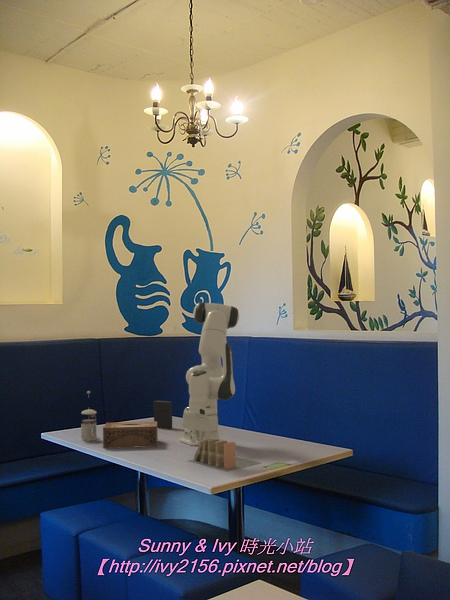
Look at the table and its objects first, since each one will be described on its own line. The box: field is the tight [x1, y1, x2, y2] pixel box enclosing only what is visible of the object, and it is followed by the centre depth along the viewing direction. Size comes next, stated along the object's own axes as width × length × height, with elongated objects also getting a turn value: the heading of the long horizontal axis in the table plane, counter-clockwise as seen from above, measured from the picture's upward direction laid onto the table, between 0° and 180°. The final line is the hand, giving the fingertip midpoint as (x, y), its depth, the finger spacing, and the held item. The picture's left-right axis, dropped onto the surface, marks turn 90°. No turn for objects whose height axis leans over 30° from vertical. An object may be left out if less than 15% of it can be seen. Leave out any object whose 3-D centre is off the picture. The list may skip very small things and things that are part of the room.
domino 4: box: [216, 439, 228, 467], centre depth 264 cm, size 2×5×10 cm, turn 132°
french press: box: [79, 390, 99, 442], centre depth 333 cm, size 10×12×25 cm
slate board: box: [188, 456, 262, 472], centre depth 271 cm, size 26×20×1 cm
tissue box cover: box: [102, 421, 158, 449], centre depth 316 cm, size 26×14×10 cm, turn 94°
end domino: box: [224, 441, 237, 469], centre depth 261 cm, size 2×5×10 cm, turn 133°
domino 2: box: [201, 437, 214, 463], centre depth 271 cm, size 2×5×10 cm, turn 132°
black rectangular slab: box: [152, 400, 173, 430], centre depth 362 cm, size 11×4×15 cm, turn 58°
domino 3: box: [208, 439, 219, 465], centre depth 268 cm, size 2×5×10 cm, turn 132°
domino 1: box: [192, 440, 203, 461], centre depth 274 cm, size 2×5×10 cm
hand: (199, 440), depth 275 cm, fingers closed
